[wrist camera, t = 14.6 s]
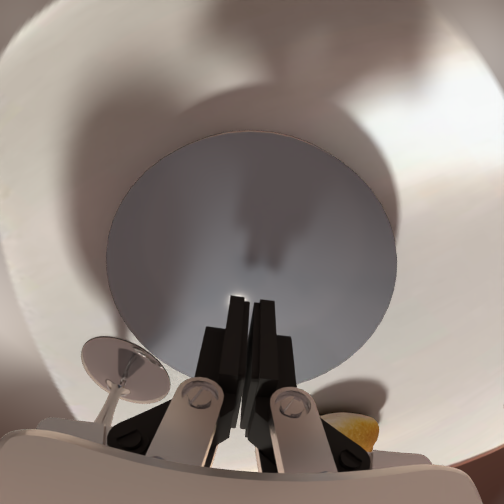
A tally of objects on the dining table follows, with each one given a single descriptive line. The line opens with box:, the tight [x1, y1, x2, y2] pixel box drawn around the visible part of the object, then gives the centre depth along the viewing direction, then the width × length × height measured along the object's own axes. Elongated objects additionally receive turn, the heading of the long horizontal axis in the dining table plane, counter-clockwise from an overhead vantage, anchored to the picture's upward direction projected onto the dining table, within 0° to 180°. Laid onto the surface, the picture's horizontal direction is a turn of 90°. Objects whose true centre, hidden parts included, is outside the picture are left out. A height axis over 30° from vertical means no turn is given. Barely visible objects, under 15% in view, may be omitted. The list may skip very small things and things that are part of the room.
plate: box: [106, 130, 397, 384], centre depth 15 cm, size 14×14×2 cm
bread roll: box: [320, 412, 379, 452], centre depth 20 cm, size 8×9×4 cm
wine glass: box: [81, 337, 170, 427], centre depth 13 cm, size 8×8×15 cm
